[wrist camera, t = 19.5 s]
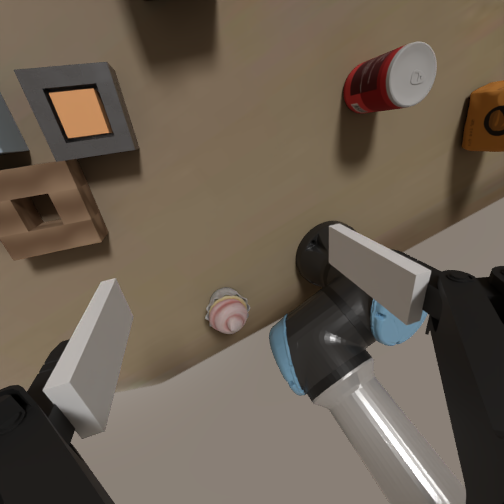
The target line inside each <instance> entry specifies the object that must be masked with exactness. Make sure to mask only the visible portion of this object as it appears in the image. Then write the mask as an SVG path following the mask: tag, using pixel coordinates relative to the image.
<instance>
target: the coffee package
mask: <svg viewBox="0 0 504 504" xmlns="http://www.w3.org/2000/svg"><path fill="white" fill-rule="evenodd" d="M462 148H464V149H466V150H469V151H490V152H501V151H504V81H498V82H492V83H489V84H487V85H485V86H483V87H480V88H478V89H477V90H475V91H473V92H472V93H471V95H470V106H469V109H468V115H467V120H466V123H465V127H464V134H463V143H462Z"/></svg>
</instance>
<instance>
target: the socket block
mask: <svg viewBox="0 0 504 504" xmlns="http://www.w3.org/2000/svg"><path fill="white" fill-rule="evenodd" d="M42 194H49V196H50V198H51V200H52V202H53V204H54V206H55V208H56V210H57V212H58V214H59V216H60V218H61V219H59V220H53V221H48V222H43V220H42V219H41V217H40V215H39V213H38V211H37V209H36V208H35V206H34V204H33V202H32V200H31V198H30V196H36V195H42ZM107 234H108V230H107V228H106V225H105V223H104V221H103V218H102V216H101V214H100V211H99V209H98V207H97V204H96V202H95V200H94V197H93V195H92V192H91V190H90V188H89V185H88V183H87V181H86V178H85V176H84V174H83V171H82V169H81V167H80V164H79V162H78V160H77V159H72V160H65V161H59V162H49V163H43V164H36V165H30V166H23V167H16V168H10V169H3V170H0V240H1V242H2V244H3V245H4V247H5V248H6V250H7V251H8V253H9V254H10V256H11V257H12V259H13V260H14V261H15V260H20V259H24V258H29V257H34V256H38V255H43V254H48V253H52V252H57V251H62V250H66V249H71V248H76V247H80V246H85V245H90V244H94V243H99V242H102V241H103V239H104V238H105V236H106V235H107Z"/></svg>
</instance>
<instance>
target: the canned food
mask: <svg viewBox="0 0 504 504" xmlns="http://www.w3.org/2000/svg"><path fill="white" fill-rule="evenodd" d="M436 68H437V63H436V57H435V54H434V52H433V50H432V48H431V47H430V46H429V45H428V44H426V43H424V42H414V43H410V44H407V45H405V46H402V47H399V48H397V49H395V50H392V51H390V52H387V53H385V54H383V55H380V56H378V57H376V58H373V59H371V60H368V61H366V62H364V63H361V64H360V65H358V66H357V67H355V68H354V69H353V70H352V71H351V73H350V74H349V75H348V77H347V79H346V82H345V85H344V92H343V93H344V100H345V103H346V105H347V106H348V108H349V109H351V110H352V111H354V112H356V113H370V112H378V111H385V110H393V109H400V108H406V107H410V106H413V105H416V104H417V103H419V102H420V101H421V100H423V99H424V98H425V96H426V95H427V94H428V92H429V91H430V89H431V87H432V85H433V83H434V80H435V76H436Z"/></svg>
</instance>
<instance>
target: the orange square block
mask: <svg viewBox="0 0 504 504" xmlns="http://www.w3.org/2000/svg"><path fill="white" fill-rule="evenodd" d="M49 95H50V97H51V100H52V102H53V104H54V107H55V109H56V111H57V114H58V116H59V118H60V121H61V123H62V125H63V128H64V130H65V132H66V135H67V137H68V138H85V137H92V136H99V135H106V134H113V130H112V127H111V124H110V122H109V119H108V116H107V113H106V110H105V107H104V104H103V102H102V99H101V96H100V93H99V92H98V91H97V90H95V89H94V88H92V89H82V90H72V91H63V92H53V93H49Z"/></svg>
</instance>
